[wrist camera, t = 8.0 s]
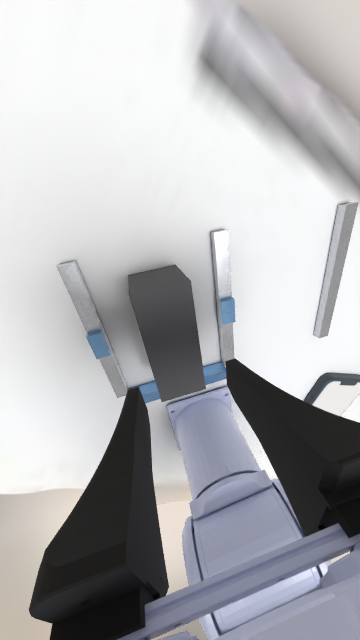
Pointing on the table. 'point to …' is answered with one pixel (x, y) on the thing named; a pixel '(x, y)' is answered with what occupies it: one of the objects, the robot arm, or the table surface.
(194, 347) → the dark grey block
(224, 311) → the silver and blue frame
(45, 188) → the table surface
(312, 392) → the phone case
